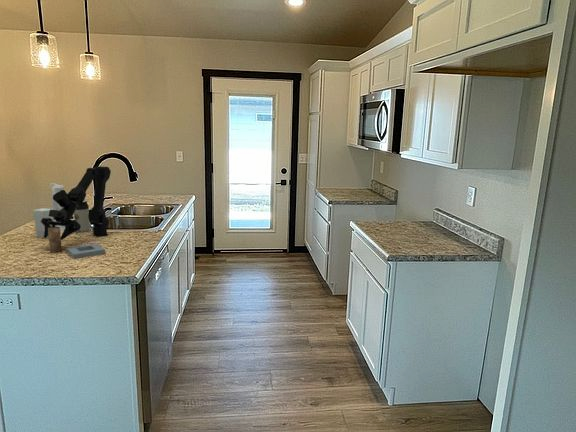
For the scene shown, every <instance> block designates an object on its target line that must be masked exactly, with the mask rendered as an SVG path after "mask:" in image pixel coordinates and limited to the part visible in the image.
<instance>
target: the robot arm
mask: <svg viewBox="0 0 576 432" xmlns="http://www.w3.org/2000/svg"><path fill="white" fill-rule="evenodd" d="M111 173H112V172H111V169H110V167H108V166H99V165H97V166H96V167H87V168H86V171H85V173H84V175H83V176H82V178H81V179H80V181H79V182H78V183H77V185H76V186H75V187H73V188H71V189H70V191H69V192H67V191H66V190H65V189H64V190H60V192H57V193H56V194H54V195H53V200H54V201H55V202H56V203H57V204H58V205H59V206H61V207H63V208H62V209H61V210H50V212H49V216H51V217H54V218H53V219H54V220H56V221H53V220H52V219H51V218H42V220H41V223H42V224H43V225H44V226H45V231H44V238H43V239H48V238H47V237H48V236H49V235H48V228H50V227H55V226H56V225H58V226H65V230H63V232H62V234H61V235H60V236H61V238H60V239H61V241H63V240H65V239H66V238H67V237H68V236H71V235H72V234H73V233H75V232H76V233H77V232H79V230H80V228H81V226H80V224H79V223H78V222H77V221H76V220H74V212H75V211H76V210H80V208H79V205H76V203H82V202H83V201H84V200H86V196H87V190H88V188H89V187H90V185H91V184H92V182H93V181H94V180H95V190H94V197H93V207H91V209H90V208H89V215H88V216H89V217H88V218H89V221H90V226H92V225H93V226H92V235H93V236H95V237H96V238H97V237H103V236H104V237H105V236H108V235H109V234H108V230H107V227H108V225H109V224H110V219H109V218H108V217H107V216H106V211H105V209H104V203H105V195H106V193H105V192H106V187H107V185H106V184H107V182H108V181H109V179H110V178H111V177H110V176H111ZM74 202H75V203H74ZM76 230H77V231H76Z"/></svg>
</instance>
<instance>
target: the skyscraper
mask: <svg viewBox="0 0 576 432" xmlns="http://www.w3.org/2000/svg"><path fill="white" fill-rule="evenodd" d="M52 185H53V186H52ZM49 187H50V188H51V189H50V190H51V191H52V196H51V209H54V210H61V209H62V208H63V207H61V206H59V205H58V204H57V203H56V202H55V201H54V200H53V195H54V194H56V193H57V192H60V190H65V186H64V185H61V184H58V183H49ZM55 221H56V220H55ZM56 227H60V232H61V231H64V230H65V226H58V225H56Z"/></svg>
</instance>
